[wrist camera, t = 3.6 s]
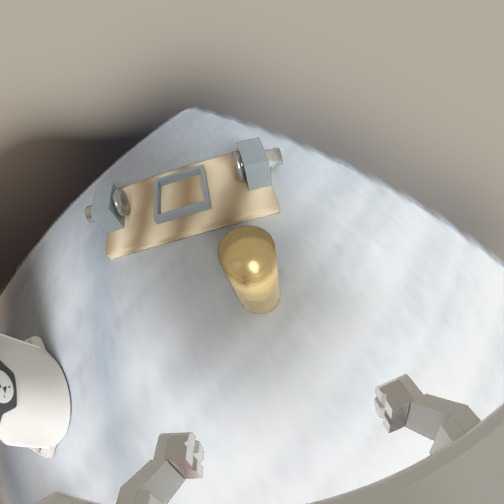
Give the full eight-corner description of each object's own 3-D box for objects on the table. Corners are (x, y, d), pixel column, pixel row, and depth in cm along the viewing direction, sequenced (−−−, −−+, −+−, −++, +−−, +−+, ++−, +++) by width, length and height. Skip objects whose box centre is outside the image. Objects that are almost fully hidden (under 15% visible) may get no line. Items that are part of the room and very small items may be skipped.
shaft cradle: (100, 262, 35) (75, 241, 30) (107, 201, 41) (89, 178, 36) (294, 208, 35) (294, 175, 30) (270, 151, 41) (266, 120, 36)
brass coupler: (244, 318, 29) (223, 282, 20) (236, 281, 31) (214, 233, 22) (284, 308, 29) (281, 267, 20) (274, 272, 31) (267, 219, 22)
